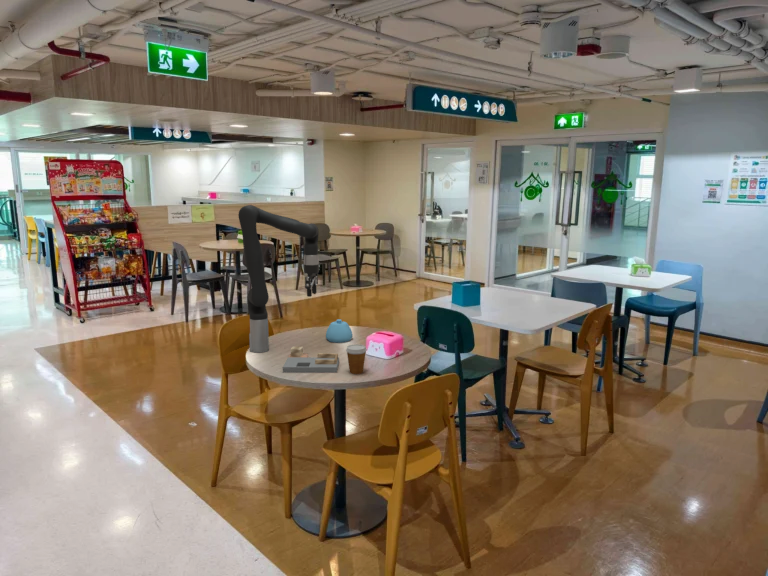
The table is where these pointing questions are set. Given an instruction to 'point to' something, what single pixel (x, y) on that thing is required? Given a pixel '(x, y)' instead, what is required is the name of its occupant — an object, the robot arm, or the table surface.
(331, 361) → the frame
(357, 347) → the disposable coffee cup
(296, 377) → the table surface
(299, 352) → the block
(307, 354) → the saucer
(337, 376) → the table surface
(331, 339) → the sugar bowl
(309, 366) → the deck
